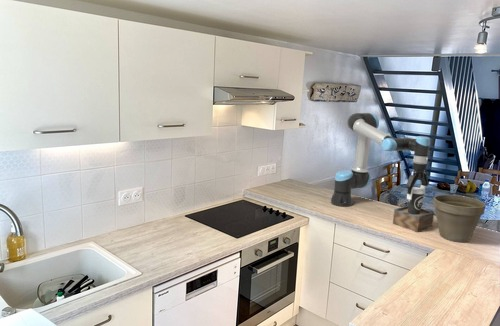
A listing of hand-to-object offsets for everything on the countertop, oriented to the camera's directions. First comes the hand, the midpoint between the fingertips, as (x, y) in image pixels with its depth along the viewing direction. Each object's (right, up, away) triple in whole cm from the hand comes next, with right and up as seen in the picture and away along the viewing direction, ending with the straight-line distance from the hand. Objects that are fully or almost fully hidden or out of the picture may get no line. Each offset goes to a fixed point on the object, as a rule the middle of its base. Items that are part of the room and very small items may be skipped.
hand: (415, 197), depth 215 cm
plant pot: (+15, -21, -13) cm, 29 cm away
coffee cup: (0, -9, +2) cm, 10 cm away
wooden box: (0, -17, +3) cm, 18 cm away
